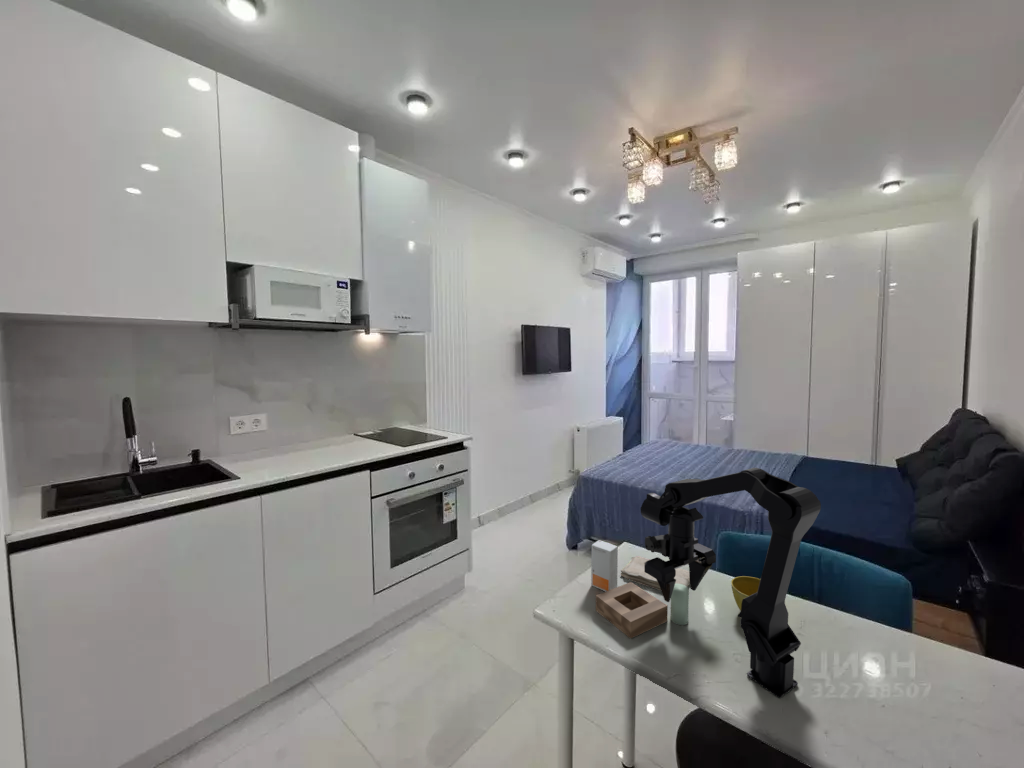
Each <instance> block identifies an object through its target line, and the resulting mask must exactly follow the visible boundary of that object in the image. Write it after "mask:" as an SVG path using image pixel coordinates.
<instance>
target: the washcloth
mask: <svg viewBox="0 0 1024 768" xmlns="http://www.w3.org/2000/svg"><path fill="white" fill-rule="evenodd" d="M648 560H651V558H650V559H649V558H646V557H643V556H639V555H635V556H632V557H631V558H630V561H629V562H627V563H626V564H625V565H624V566H623V568H622V569H620V571H621V572H620V576H622V577H623V578H625V579H627V580H628V579H630V580H629V581H630V582H635V583H636V584H640V585H643V586H646V587H649V588H653V589H654V590H658V591H661V589H660V586H659V584H658V581H657V579H656V578H654V577H652V576H651V575H649V574H647V573H645V572H644V563H645V562H646V561H648ZM675 570H676V575H675V577H674V579H676V582H675V584H683V585H685V586H687V587H690V577H689V570H686V569H684V568H681V567H680V568H677V569H675Z"/></svg>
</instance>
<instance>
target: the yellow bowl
mask: <svg viewBox="0 0 1024 768" xmlns="http://www.w3.org/2000/svg"><path fill="white" fill-rule="evenodd" d="M760 579H761V578H758V577H753V576H746V575H742V576H736V577H734V578H732V579H731V581H730V582H731V583H730V584H731V585H730V586H731V590H732V594H733V595H732V596H733V598H734V601H735V603H736V605H737V606H736V607H737V608H738V609H739V611H740V612H741V604H742V600H743V599H744V598H746V597H748V596H750V595H752V594H754V593H756V592H757V591H758V587H759V583H760Z"/></svg>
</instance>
